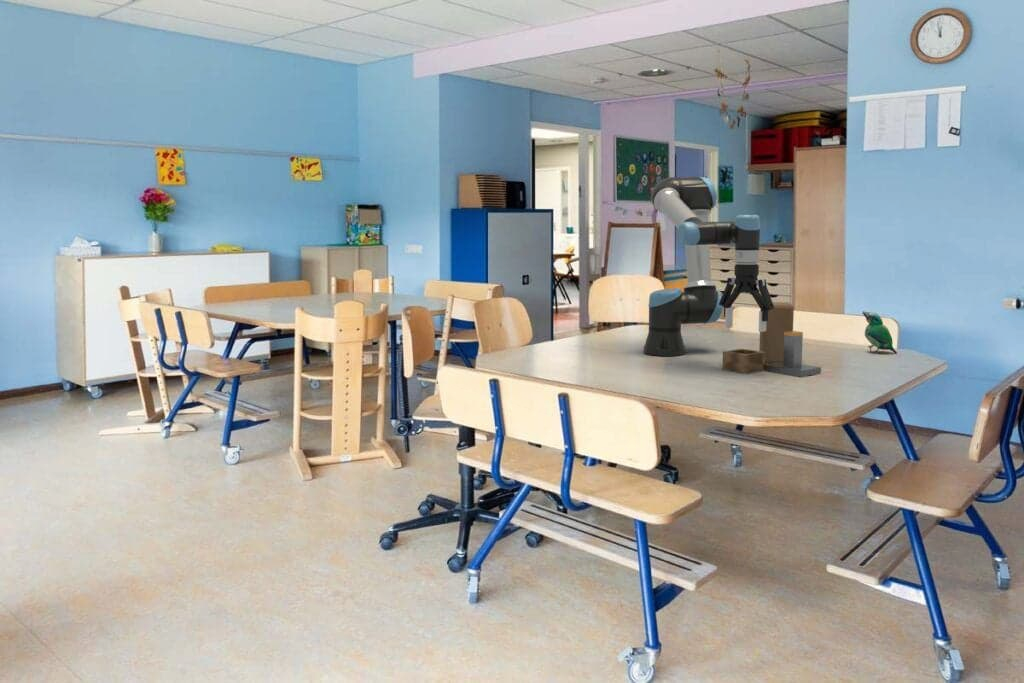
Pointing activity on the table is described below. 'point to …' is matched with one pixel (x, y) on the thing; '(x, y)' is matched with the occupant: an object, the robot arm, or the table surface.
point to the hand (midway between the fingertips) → (745, 329)
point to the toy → (877, 332)
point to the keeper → (792, 358)
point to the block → (776, 331)
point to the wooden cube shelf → (743, 361)
